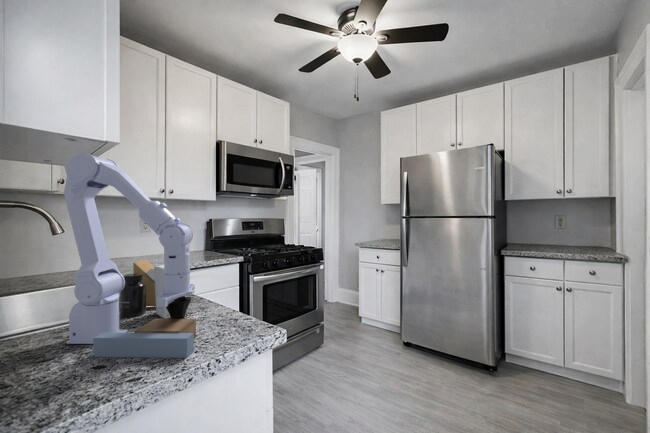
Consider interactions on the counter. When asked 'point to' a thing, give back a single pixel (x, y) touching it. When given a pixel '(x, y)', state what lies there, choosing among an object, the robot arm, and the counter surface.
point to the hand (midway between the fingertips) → (177, 328)
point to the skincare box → (160, 290)
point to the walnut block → (169, 326)
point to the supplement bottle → (133, 296)
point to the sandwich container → (147, 279)
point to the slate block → (144, 345)
